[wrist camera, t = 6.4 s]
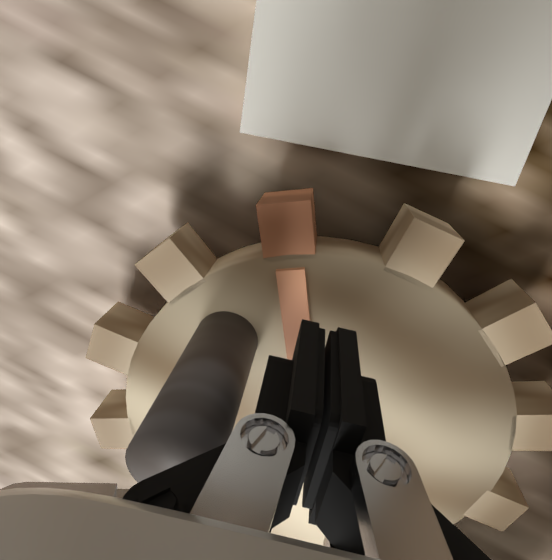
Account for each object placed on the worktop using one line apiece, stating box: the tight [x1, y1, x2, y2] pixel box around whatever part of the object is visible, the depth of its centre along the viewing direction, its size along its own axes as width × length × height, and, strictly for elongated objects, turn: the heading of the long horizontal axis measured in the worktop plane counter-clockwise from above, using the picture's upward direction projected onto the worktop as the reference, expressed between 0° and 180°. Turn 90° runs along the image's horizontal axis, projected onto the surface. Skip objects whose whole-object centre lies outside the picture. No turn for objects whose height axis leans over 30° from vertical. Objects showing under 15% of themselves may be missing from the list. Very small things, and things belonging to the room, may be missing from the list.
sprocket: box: [86, 188, 552, 546], centre depth 15 cm, size 20×20×8 cm
